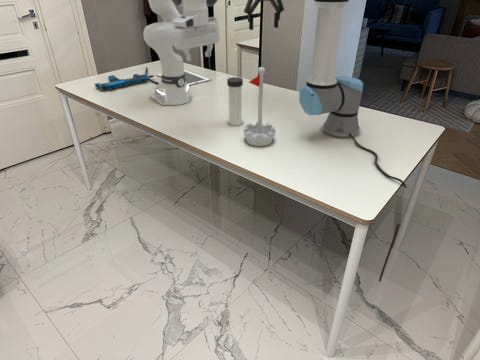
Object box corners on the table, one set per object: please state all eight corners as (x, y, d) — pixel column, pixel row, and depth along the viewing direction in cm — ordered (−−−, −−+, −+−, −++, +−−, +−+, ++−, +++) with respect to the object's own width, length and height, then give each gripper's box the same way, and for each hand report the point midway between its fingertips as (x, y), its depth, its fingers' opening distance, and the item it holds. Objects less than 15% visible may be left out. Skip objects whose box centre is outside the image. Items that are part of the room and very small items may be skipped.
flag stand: (266, 131, 149) (269, 61, 133) (280, 143, 139) (285, 69, 122) (239, 136, 145) (238, 64, 129) (250, 149, 135) (252, 73, 118)
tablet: (156, 75, 222) (156, 74, 221) (183, 69, 233) (183, 69, 233) (183, 86, 201) (183, 86, 201) (210, 80, 212) (210, 79, 212)
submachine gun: (139, 68, 225) (158, 74, 208) (140, 74, 226) (158, 80, 210) (87, 78, 206) (103, 86, 189) (89, 84, 208) (104, 92, 191)
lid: (232, 81, 151) (232, 76, 150) (245, 83, 148) (245, 78, 147) (224, 85, 146) (224, 80, 145) (237, 88, 143) (237, 82, 142)
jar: (233, 119, 160) (232, 77, 149) (243, 122, 158) (243, 79, 147) (227, 124, 156) (226, 81, 145) (237, 126, 154) (237, 83, 143)
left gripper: (211, 15, 131) (213, 52, 138) (168, 21, 118) (173, 62, 126) (222, 16, 127) (224, 55, 135) (179, 23, 115) (183, 64, 122)
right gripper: (284, -24, 159) (281, 25, 170) (236, -23, 150) (236, 29, 161) (293, -24, 153) (290, 27, 165) (244, -22, 144) (243, 31, 156)
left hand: (199, 58), depth 130 cm, fingers open, 8 cm apart
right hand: (263, 28), depth 163 cm, fingers open, 13 cm apart
